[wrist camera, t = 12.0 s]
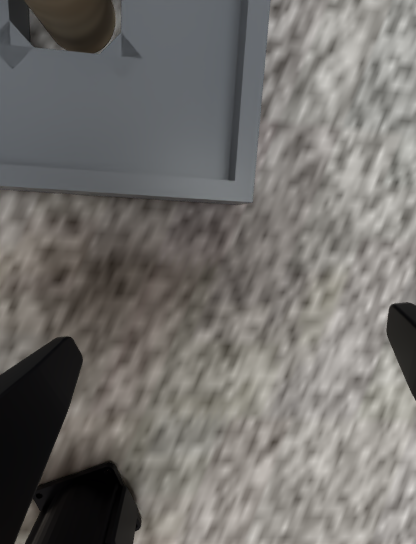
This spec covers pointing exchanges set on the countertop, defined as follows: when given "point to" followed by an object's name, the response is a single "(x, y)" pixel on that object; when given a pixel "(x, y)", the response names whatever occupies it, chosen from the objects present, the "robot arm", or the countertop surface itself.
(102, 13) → the birch peg
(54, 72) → the charcoal box
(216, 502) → the countertop surface
